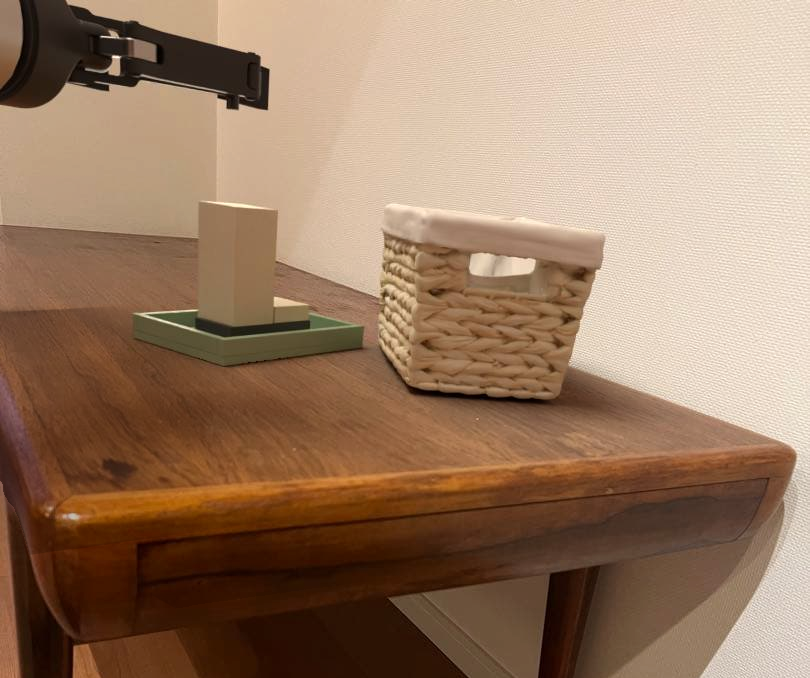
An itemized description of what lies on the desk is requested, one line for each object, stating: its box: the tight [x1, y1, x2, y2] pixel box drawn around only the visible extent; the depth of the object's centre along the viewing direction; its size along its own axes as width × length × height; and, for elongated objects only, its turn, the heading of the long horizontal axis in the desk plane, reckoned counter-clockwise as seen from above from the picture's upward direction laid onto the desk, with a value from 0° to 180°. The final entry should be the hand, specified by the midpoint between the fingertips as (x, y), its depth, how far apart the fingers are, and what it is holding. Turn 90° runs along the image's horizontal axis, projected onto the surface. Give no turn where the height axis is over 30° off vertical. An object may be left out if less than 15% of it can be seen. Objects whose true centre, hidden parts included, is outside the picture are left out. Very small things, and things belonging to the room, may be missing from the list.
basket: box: [377, 202, 606, 400], centre depth 75 cm, size 24×16×15 cm
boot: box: [195, 200, 310, 338], centre depth 76 cm, size 11×5×12 cm, turn 144°
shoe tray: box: [131, 309, 365, 367], centre depth 79 cm, size 13×20×2 cm, turn 144°
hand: (182, 80), depth 60 cm, fingers open, 13 cm apart
